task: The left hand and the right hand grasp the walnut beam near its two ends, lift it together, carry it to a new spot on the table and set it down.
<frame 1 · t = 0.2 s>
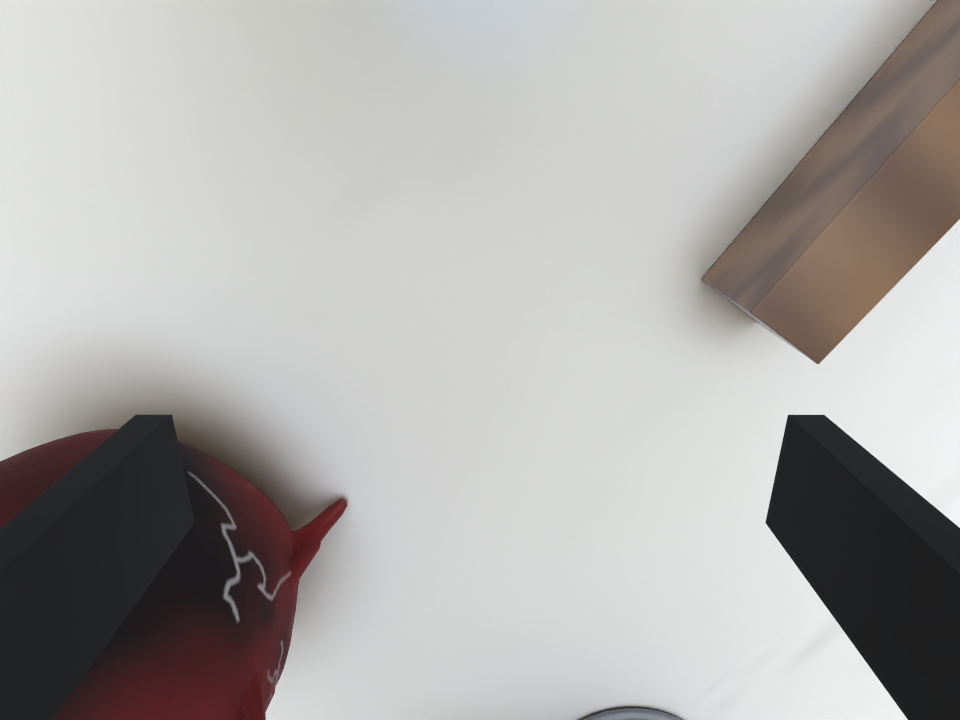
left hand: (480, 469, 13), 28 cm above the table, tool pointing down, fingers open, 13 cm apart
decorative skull: (177, 533, 47), on the table
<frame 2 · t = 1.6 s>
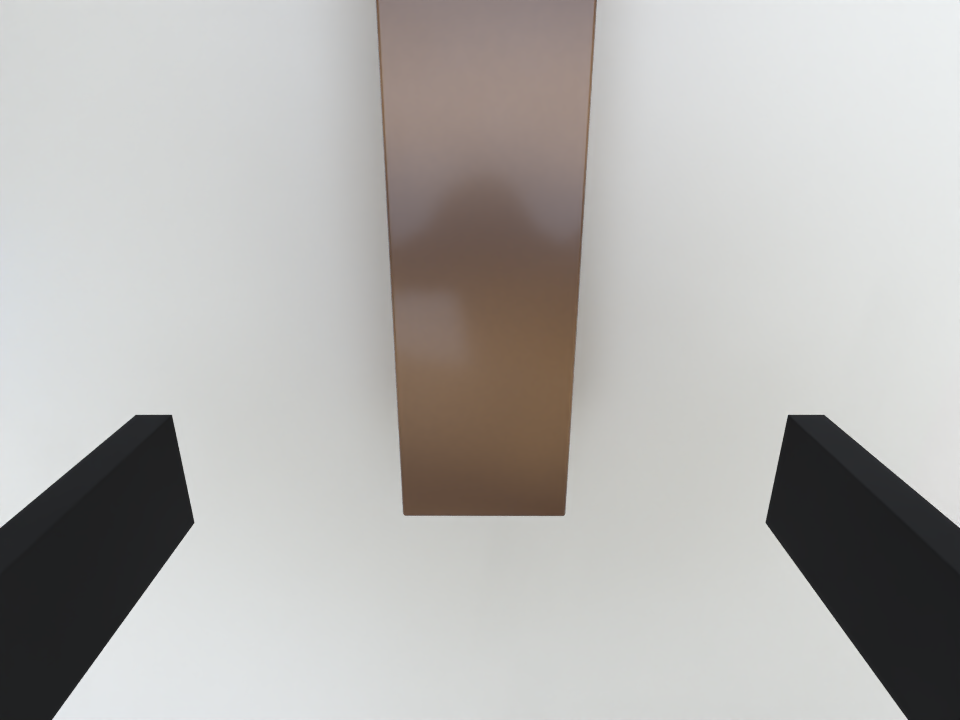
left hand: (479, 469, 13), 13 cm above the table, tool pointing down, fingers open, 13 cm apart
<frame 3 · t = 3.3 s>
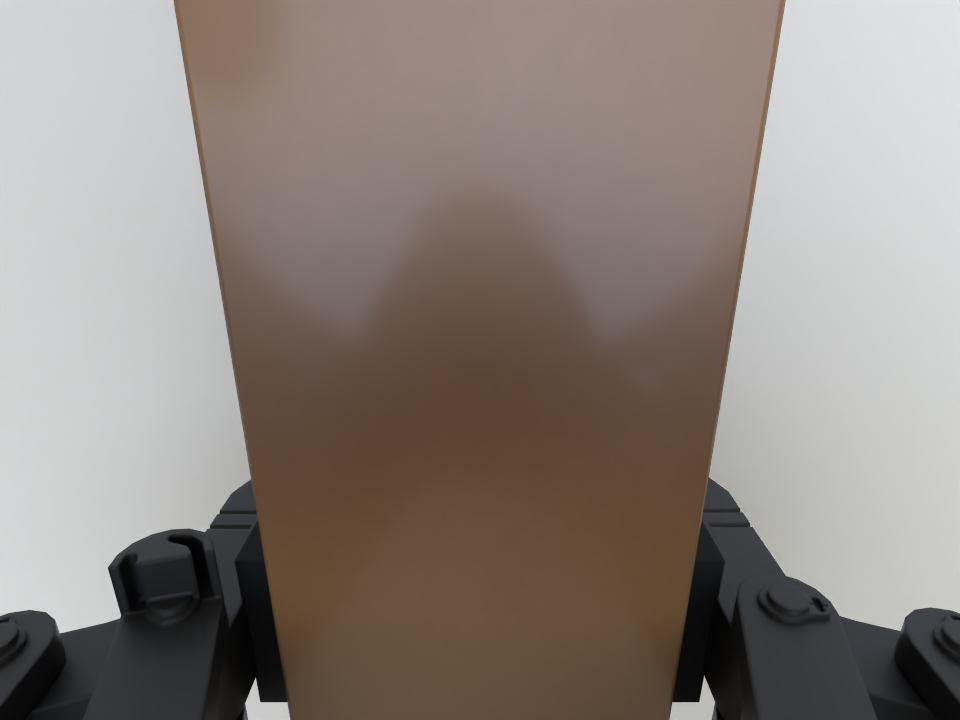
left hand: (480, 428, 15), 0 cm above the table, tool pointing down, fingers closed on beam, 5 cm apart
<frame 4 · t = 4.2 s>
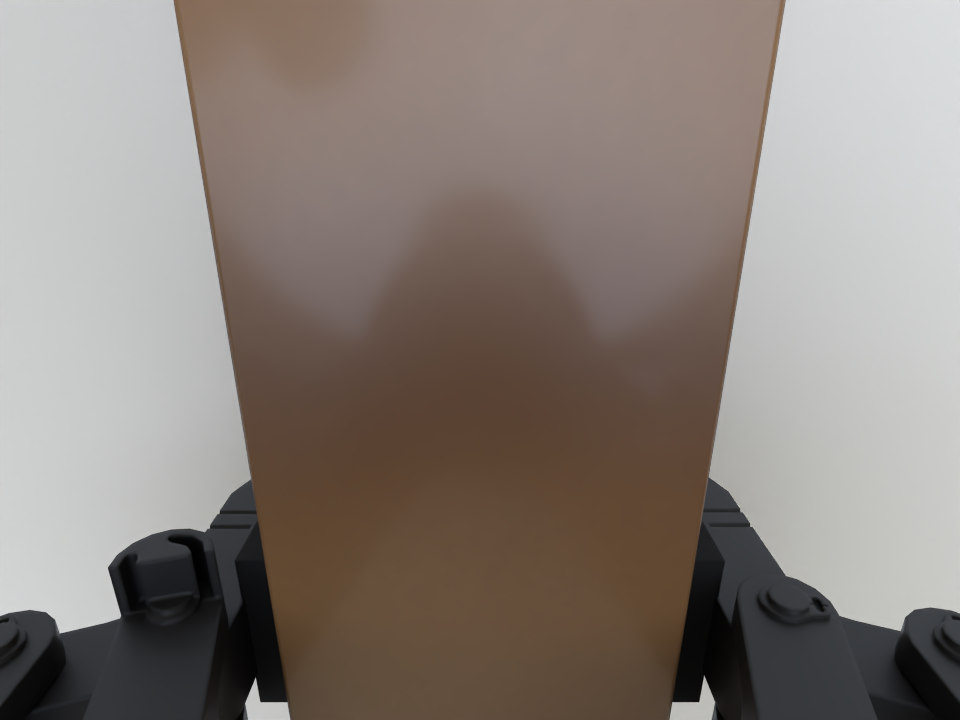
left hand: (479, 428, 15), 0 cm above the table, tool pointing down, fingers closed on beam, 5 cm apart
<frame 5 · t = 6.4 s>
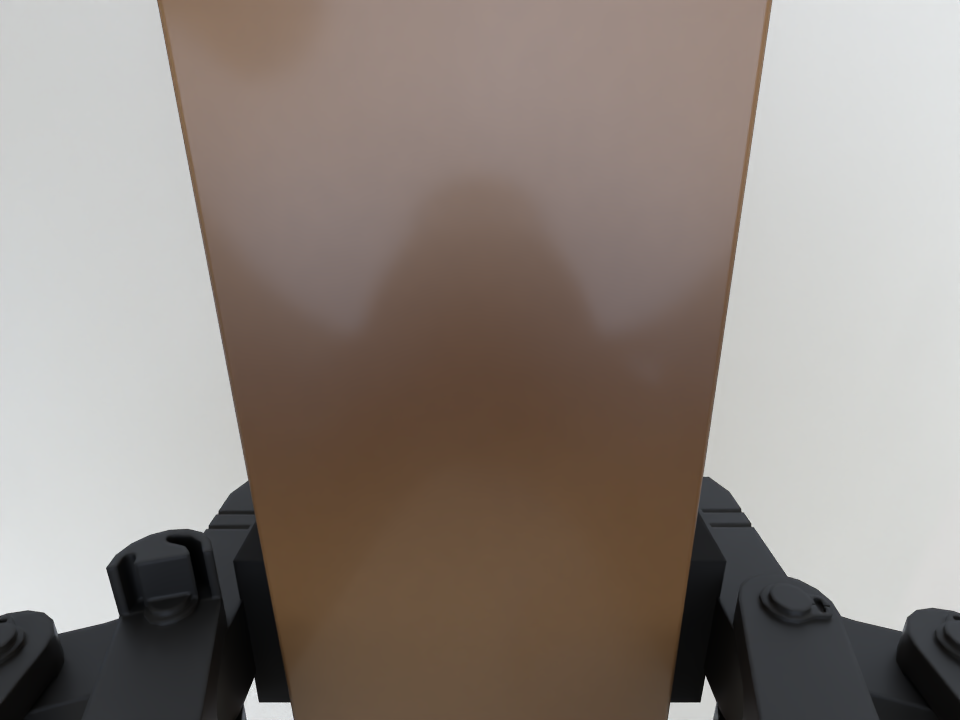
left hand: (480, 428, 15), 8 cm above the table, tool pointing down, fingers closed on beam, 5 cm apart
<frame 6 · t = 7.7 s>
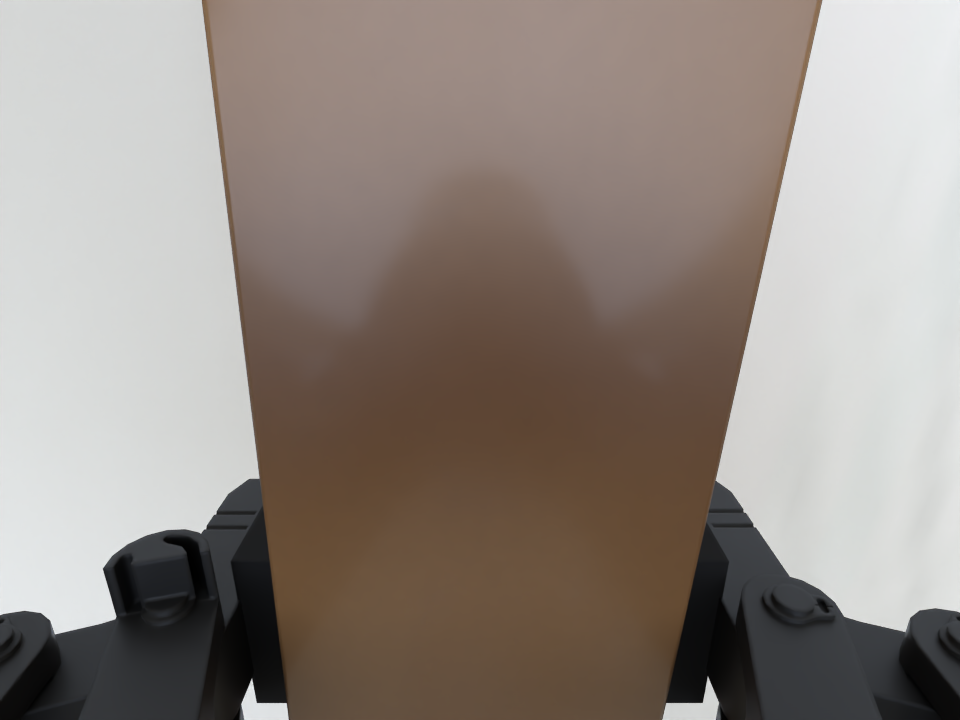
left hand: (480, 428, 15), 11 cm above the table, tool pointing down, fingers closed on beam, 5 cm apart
when the left hand's fingers open (2 cm above the table, at t = 10.0 s): beam drops 1 cm, on the table.
when the right hand's fingers open (4 cm above the table, at t = 10.2 s): beam stays where it is, on the table.
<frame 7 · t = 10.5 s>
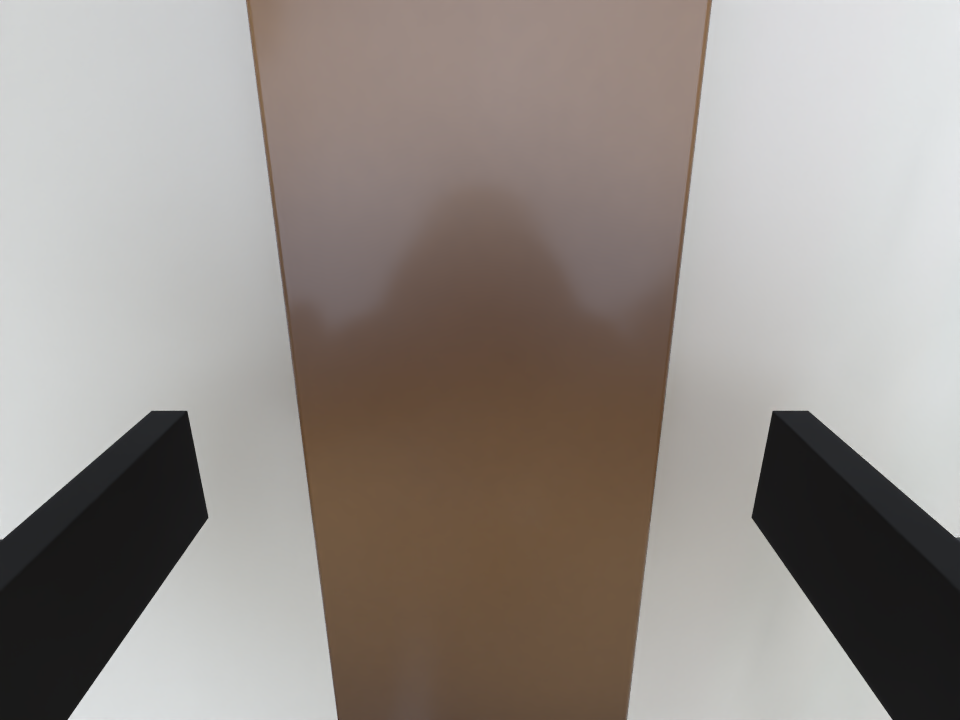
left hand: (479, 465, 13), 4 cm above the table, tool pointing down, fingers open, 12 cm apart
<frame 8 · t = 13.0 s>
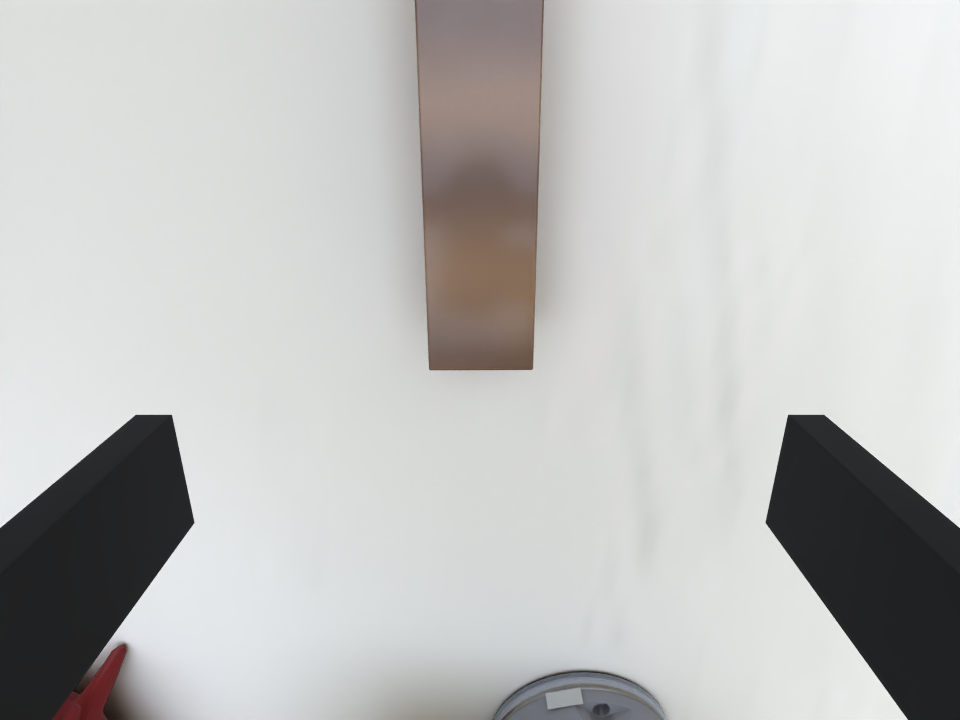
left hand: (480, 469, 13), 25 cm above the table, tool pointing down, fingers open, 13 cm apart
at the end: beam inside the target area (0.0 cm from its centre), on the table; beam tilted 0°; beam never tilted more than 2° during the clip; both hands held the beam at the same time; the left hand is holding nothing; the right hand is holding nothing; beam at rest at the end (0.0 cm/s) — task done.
